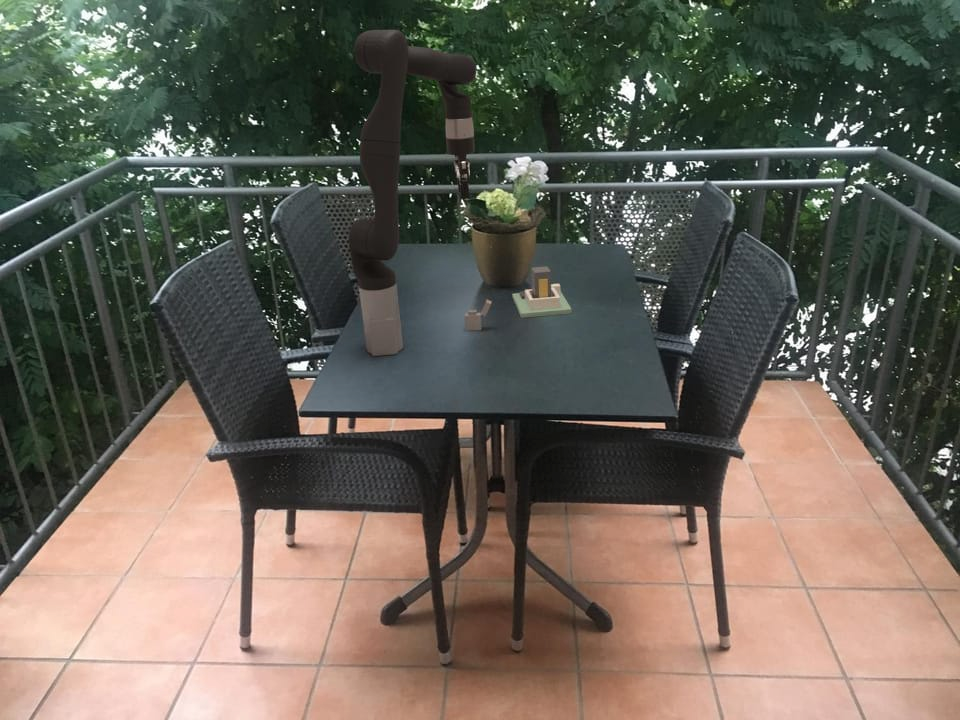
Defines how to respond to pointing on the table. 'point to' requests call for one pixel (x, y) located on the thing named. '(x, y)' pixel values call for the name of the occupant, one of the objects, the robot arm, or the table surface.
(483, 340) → the table surface
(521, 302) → the board
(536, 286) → the grey yellow block
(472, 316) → the lighter
